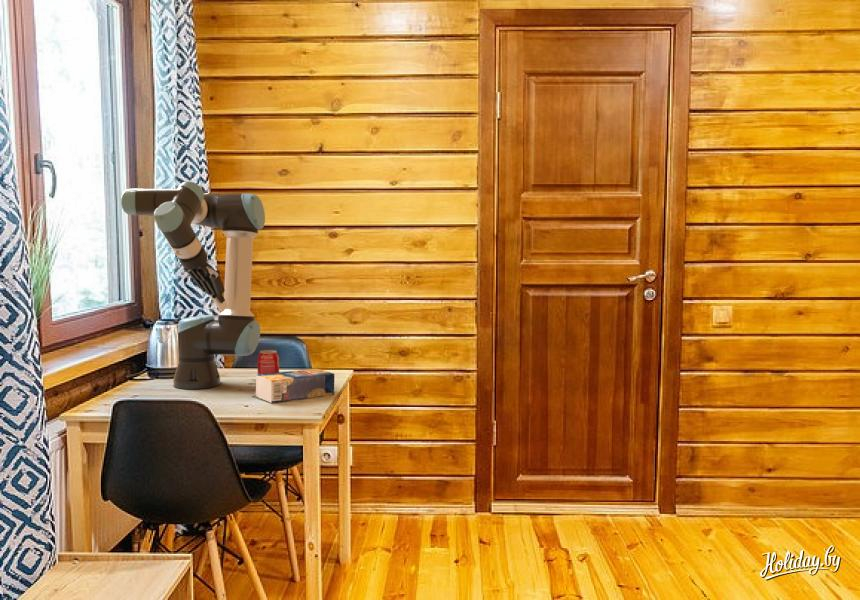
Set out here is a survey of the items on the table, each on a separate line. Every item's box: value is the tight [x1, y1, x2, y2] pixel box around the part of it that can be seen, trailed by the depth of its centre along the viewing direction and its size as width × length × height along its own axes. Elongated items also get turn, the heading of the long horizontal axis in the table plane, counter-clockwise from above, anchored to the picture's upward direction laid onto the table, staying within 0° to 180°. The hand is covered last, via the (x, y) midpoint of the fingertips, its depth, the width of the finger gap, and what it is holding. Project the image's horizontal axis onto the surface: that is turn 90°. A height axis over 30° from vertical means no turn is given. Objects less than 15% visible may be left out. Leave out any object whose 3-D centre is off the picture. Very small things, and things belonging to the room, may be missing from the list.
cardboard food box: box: [255, 368, 335, 404], centre depth 236 cm, size 7×11×22 cm
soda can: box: [257, 349, 280, 375], centre depth 249 cm, size 7×7×12 cm
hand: (224, 308), depth 227 cm, fingers closed
